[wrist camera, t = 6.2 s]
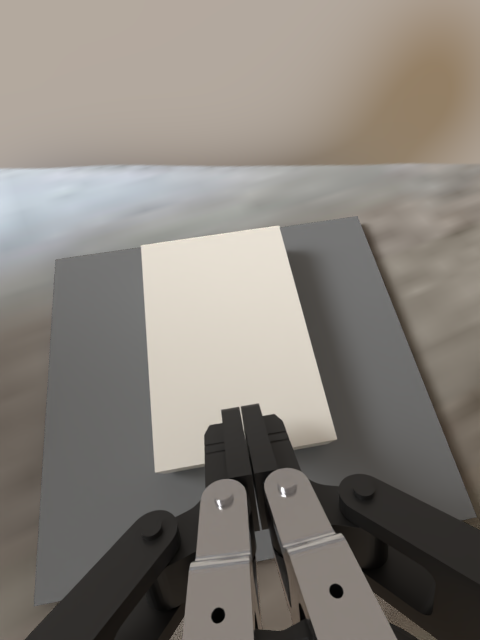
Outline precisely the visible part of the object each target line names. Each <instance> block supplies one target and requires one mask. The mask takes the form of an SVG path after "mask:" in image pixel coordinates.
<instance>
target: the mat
mask: <svg viewBox="0 0 480 640" xmlns="http://www.w3.org/2000/svg"><path fill="white" fill-rule="evenodd" d="M280 231H281V235H282V238H283V242H284V246H285V249H286V253H287V257H288V260H289V264H290V268H291V271H292V275H293V279H294V282H295V286H296V290H297V293H298V297H299V301H300V304H301V308H302V312H303V315H304V319H305V323H306V326H307V330H308V334H309V337H310V341H311V345H312V348H313V352H314V356H315V359H316V363H317V367H318V370H319V374H320V378H321V381H322V385H323V389H324V392H325V396H326V400H327V403H328V407H329V411H330V414H331V418H332V422H333V425H334V429H335V433H336V436H337V440H335V441H333V442H331V443H329V444H325V445H319V446H314V447H308V448H303V449H297V450H294V453H295V455H296V458H297V461H298V464H299V466H300V469H301V471H302V473H304V474H305V475H306V476H307V478H308V479H310V480H311V481H313V482H316V483H318V484H322V485H330V486H339V485H340V483H341V481H342V480H343V479H344V478H345V477H347V476H349V475H353V474H366V475H370V476H372V477H375V478H377V479H379V480H381V481H383V482H385V483H387V484H389V485H391V486H393V487H395V488H397V489H399V490H401V491H403V492H405V493H407V494H409V495H411V496H413V497H415V498H417V499H419V500H421V501H423V502H425V503H427V504H429V505H431V506H433V507H435V508H437V509H439V510H441V511H443V512H445V513H447V514H449V515H451V516H453V517H455V518H457V519H459V520H466V519H471V518H476V517H477V516H476V513H475V511H474V508H473V506H472V503H471V501H470V498H469V496H468V493H467V491H466V488H465V486H464V483H463V481H462V478H461V476H460V473H459V471H458V468H457V466H456V463H455V461H454V458H453V455H452V453H451V450H450V448H449V445H448V443H447V440H446V438H445V435H444V433H443V430H442V428H441V425H440V423H439V420H438V418H437V415H436V413H435V410H434V408H433V405H432V403H431V400H430V398H429V395H428V393H427V390H426V387H425V385H424V382H423V380H422V377H421V375H420V372H419V370H418V367H417V365H416V362H415V360H414V357H413V355H412V352H411V350H410V347H409V345H408V342H407V340H406V337H405V335H404V332H403V330H402V327H401V325H400V322H399V320H398V317H397V314H396V312H395V309H394V307H393V304H392V302H391V299H390V297H389V294H388V292H387V289H386V287H385V284H384V282H383V279H382V277H381V274H380V272H379V269H378V267H377V264H376V262H375V259H374V257H373V254H372V252H371V249H370V246H369V244H368V241H367V239H366V236H365V234H364V231H363V229H362V226H361V224H360V221H359V219H358V216H355V217H348V218H341V219H334V220H327V221H320V222H314V223H307V224H300V225H293V226H286V227H280ZM204 490H205V466H204V467H199V468H193V469H188V470H182V471H177V472H172V473H166V474H162V473H155V466H154V450H153V433H152V417H151V401H150V385H149V369H148V352H147V336H146V320H145V304H144V288H143V272H142V255H141V247H139V248H132V249H126V250H119V251H112V252H105V253H98V254H91V255H84V256H77V257H70V258H63V259H56V260H55V275H54V291H53V307H52V323H51V339H50V355H49V371H48V387H47V403H46V419H45V435H44V451H43V467H42V483H41V499H40V515H39V531H38V547H37V563H36V579H35V595H34V606H38V605H43V604H48V603H53V602H58V601H61V600H62V599H63V598H64V597H65V596H66V595H67V594H68V593H69V592H70V591H71V590H72V589H73V588H74V586H75V585H76V584H77V583H78V582H79V581H80V580H81V579H82V578H83V577H84V576H85V575H86V574H87V573H88V572H89V570H90V569H91V568H92V567H93V566H94V565H95V564H96V563H97V562H98V561H99V560H100V559H101V558H102V557H103V556H104V554H105V553H106V552H107V551H108V550H109V549H110V548H111V547H112V546H113V545H114V544H115V543H116V542H117V541H118V540H119V538H120V537H121V536H122V535H123V534H124V533H125V532H126V531H127V530H128V529H129V528H130V527H131V526H132V525H133V524H134V522H135V521H136V520H138V519H139V518H140V517H141V516H143V515H144V514H146V513H149V512H151V511H155V510H165V511H168V512H170V513H172V514H173V515H174V516H175V517H176V516H178V515H180V514H182V513H184V512H186V511H188V510H190V509H191V508H193V507H194V506H195V505H196V504H197V503H198V502H199V501H200V500H201V496H202V493H203V492H204ZM254 491H255V490H254ZM255 498H256V495H255ZM256 505H257V500H256ZM257 512H258V519H259V526H260V531H256V532H255V538H256V545H257V549H256V560H257V561H262V560H267V559H272V558H274V556H273V551H272V543H271V537H270V533H269V529H266V530H262V527H261V521H260V516H259V511H258V505H257Z"/></svg>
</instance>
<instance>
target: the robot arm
mask: <svg viewBox="0 0 480 640" xmlns="http://www.w3.org/2000/svg"><path fill="white" fill-rule="evenodd" d="M241 413H242V419H241V414H240V408H239V407H234V408H228V409H222V410H221V415H222V423H219V424H213V425H209V427H208V429H207V431H206V432H205V434H204V446H205V447H204V451H205V490H204V492H203V493H202V496H201V500H200V501H199V502H198V503H197V504H196V505H195V506H194V507H193V508H191V509H190V510H188V511H186V512H184V513H182V514H180V515H178V516H176V517H175V516H174V515H173V514H172V513H170V512H168V511H165V510H155V511H151V512H149V513H146V514H144V515H143V516H141V517H140V518H139V519H138V520H136V521H135V522H134V524H133V525H132V526H131V527H130V528H129V529H128V530H127V531H126V532H125V533H124V534H123V535H122V536H121V537H120V538H119V540H118V541H117V542H116V543H115V544H114V545H113V546H112V547H111V548H110V549H109V550H108V551H107V552H106V553H105V554H104V556H103V557H102V558H101V559H100V560H99V561H98V562H97V563H96V564H95V565H94V566H93V567H92V568H91V569H90V570H89V572H88V573H87V574H86V575H85V576H84V577H83V578H82V579H81V580H80V581H79V582H78V583H77V584H76V585H75V586H74V588H73V589H72V590H71V591H70V592H69V593H68V594H67V595H66V596H65V597H64V598H63V599H62V600H61V601H60V602H59V604H58V605H57V606H56V607H55V608H54V609H53V610H52V611H51V612H50V613H49V614H48V615H47V616H46V617H45V618H44V620H43V621H42V622H41V623H40V624H39V625H38V626H37V627H36V628H35V629H34V630H33V631H32V632H31V633H30V634H29V636H28V637H27V638H26V639H25V640H169V639H170V638H171V636H172V635H173V633H174V631H175V630H176V628H177V627H178V625H179V624H180V622H181V620H182V619H183V617H184V627H183V637H182V640H418V639H417V638H415V637H414V636H413V635H411V634H409V633H408V632H406V631H405V630H403V629H401V628H399V627H397V626H395V625H393V624H391V623H388V621H387V619H386V617H385V615H384V613H383V611H382V609H381V607H380V605H379V603H378V601H377V599H376V597H375V595H374V593H375V594H377V595H378V596H380V597H381V598H382V599H384V600H385V601H386V602H388V603H389V604H390V605H392V606H393V607H394V608H396V609H397V610H398V611H400V612H401V613H402V614H404V615H405V616H407V617H408V618H409V619H411V620H412V621H413V622H415V623H416V624H417V625H419V626H420V627H421V628H423V629H424V630H425V631H427V632H428V633H430V634H431V635H432V636H434V637H435V638H436V639H438V640H480V530H478V529H476V528H474V527H472V526H470V525H468V524H466V523H465V522H463V521H461V520H459V519H457V518H455V517H453V516H451V515H449V514H447V513H445V512H443V511H441V510H439V509H437V508H435V507H433V506H431V505H429V504H427V503H425V502H423V501H421V500H419V499H417V498H415V497H413V496H411V495H409V494H407V493H405V492H403V491H401V490H399V489H397V488H395V487H393V486H391V485H389V484H387V483H385V482H383V481H381V480H379V479H377V478H375V477H372V476H370V475H366V474H353V475H349V476H347V477H345V478H344V479H343V480H342V481H341V483H340V485H339V486H330V485H322V484H318V483H316V482H313V481H311V480H310V479H308V478H307V476H306V475H305V474H304V473H302V471H301V469H300V466H299V464H298V461H297V458H296V455H295V453H294V450H293V447H292V445H291V442H290V440H289V437H288V434H287V432H286V428H285V426H284V423H283V421H282V420H281V419H280V418H279V417H278V416H276V415H275V414H271V415H265V416H262V412H261V409H260V405H259V403H257V404H251V405H245V406H241ZM242 420H243V424H242ZM243 426H244V429H243ZM244 433H245V435H244ZM254 490H255V491H254ZM255 495H256V498H255ZM256 500H257V505H258V511H259V516H260V521H261V527H262V530H266V529H269V533H270V537H271V543H272V551H273V556H274V559H275V563H276V566H277V570H278V573H279V577H280V580H281V584H282V587H283V591H284V594H285V598H286V601H287V605H288V608H289V611H290V615H291V619H292V623H293V626H291V627H289V628H287V629H285V630H283V631H271V630H262V621H261V609H260V597H259V584H258V572H257V560H256V549H257V545H256V538H255V532H256V531H260V526H259V519H258V512H257V505H256ZM373 592H374V593H373Z"/></svg>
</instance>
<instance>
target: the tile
mask: <svg viewBox="0 0 480 640" xmlns="http://www.w3.org/2000/svg"><path fill="white" fill-rule="evenodd" d="M141 255H142V272H143V288H144V304H145V320H146V336H147V352H148V369H149V385H150V401H151V417H152V433H153V450H154V466H155V473H162V474H166V473H172V472H177V471H182V470H188V469H193V468H199V467H204V466H205V451H204V447H205V446H204V434H205V432H206V431H207V429H208V427H209V425H213V424H219V423H222V415H221V410H222V409H228V408H234V407H239V408H240V414H241V419H242V413H241V406H245V405H251V404H257V403H259V405H260V409H261V412H262V416H265V415H271V414H275V415H276V416H278V417H279V418H280V419H281V420H282V421H283V423H284V426H285V428H286V432H287V434H288V437H289V440H290V442H291V445H292V447H293V450H297V449H303V448H308V447H314V446H319V445H325V444H329V443H331V442H333V441H335V440H337V436H336V433H335V429H334V425H333V422H332V418H331V414H330V411H329V407H328V403H327V400H326V396H325V392H324V389H323V385H322V381H321V378H320V374H319V370H318V367H317V363H316V359H315V356H314V352H313V348H312V345H311V341H310V337H309V334H308V330H307V326H306V323H305V319H304V315H303V312H302V308H301V304H300V301H299V297H298V293H297V290H296V286H295V282H294V279H293V275H292V271H291V268H290V264H289V260H288V257H287V253H286V249H285V246H284V242H283V238H282V235H281V231H280V227H279V226H272V227H265V228H258V229H251V230H244V231H237V232H230V233H223V234H216V235H210V236H203V237H196V238H189V239H182V240H175V241H168V242H161V243H154V244H147V245H141ZM242 424H243V420H242ZM243 429H244V426H243ZM244 435H245V433H244Z"/></svg>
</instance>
